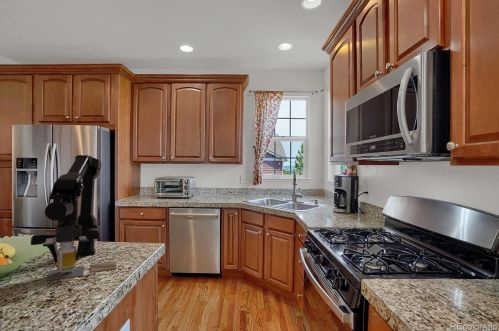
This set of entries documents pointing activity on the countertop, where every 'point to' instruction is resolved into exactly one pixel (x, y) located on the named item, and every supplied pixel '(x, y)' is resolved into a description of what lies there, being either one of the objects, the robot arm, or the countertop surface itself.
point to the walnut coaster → (103, 266)
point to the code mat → (65, 274)
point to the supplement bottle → (66, 257)
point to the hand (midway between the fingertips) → (66, 261)
